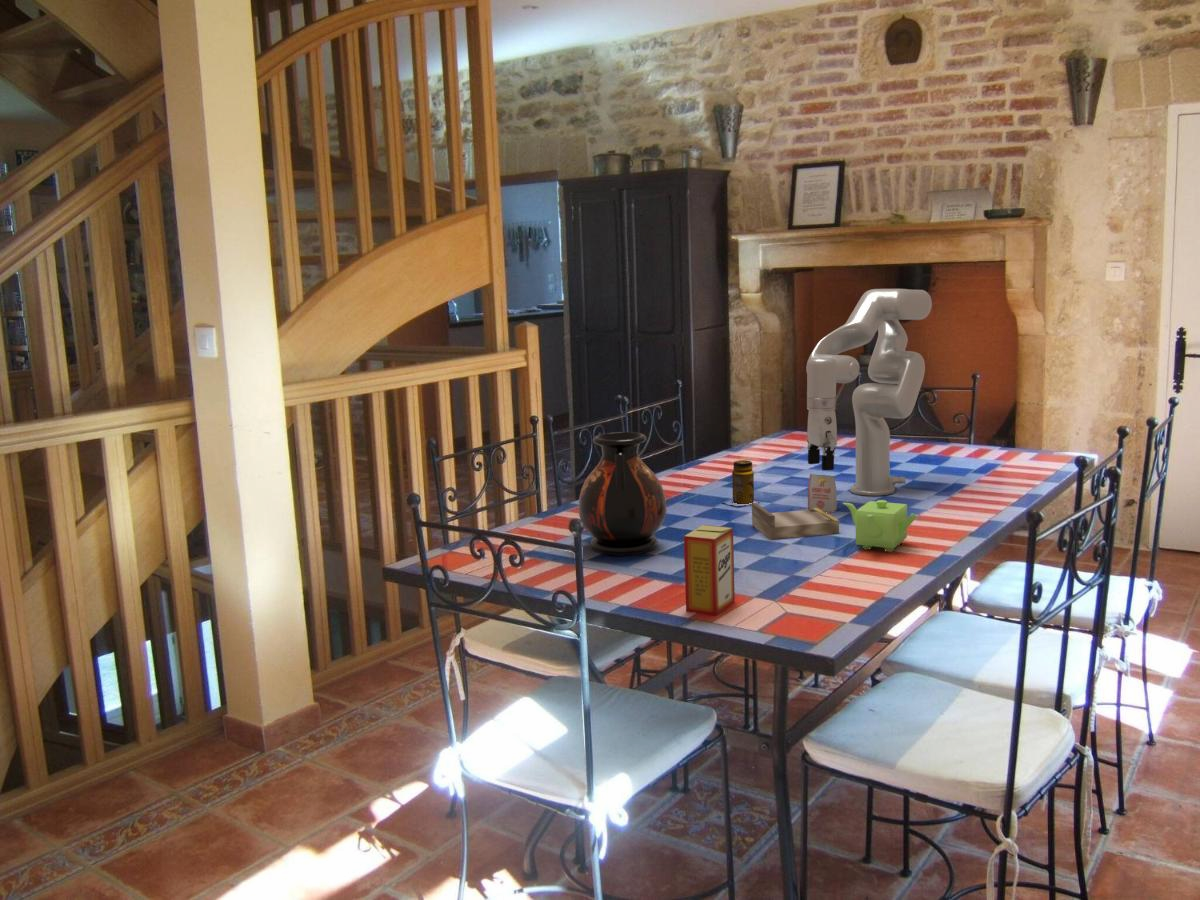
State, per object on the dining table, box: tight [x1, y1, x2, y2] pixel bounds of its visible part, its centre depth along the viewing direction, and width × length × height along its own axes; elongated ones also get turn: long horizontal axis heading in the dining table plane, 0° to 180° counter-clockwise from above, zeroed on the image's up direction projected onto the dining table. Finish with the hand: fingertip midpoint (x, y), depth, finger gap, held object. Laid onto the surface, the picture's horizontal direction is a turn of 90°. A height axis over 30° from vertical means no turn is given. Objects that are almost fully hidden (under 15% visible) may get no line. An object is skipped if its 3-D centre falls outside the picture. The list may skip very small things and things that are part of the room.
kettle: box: [842, 499, 918, 552], centre depth 247 cm, size 15×14×11 cm
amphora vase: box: [577, 431, 667, 556], centre depth 254 cm, size 22×22×28 cm
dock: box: [751, 503, 840, 540], centre depth 266 cm, size 18×14×6 cm
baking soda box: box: [683, 524, 736, 616], centre depth 210 cm, size 10×6×16 cm
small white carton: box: [807, 473, 838, 514], centre depth 283 cm, size 4×7×10 cm, turn 58°
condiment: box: [731, 459, 755, 504], centre depth 295 cm, size 7×8×12 cm
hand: (820, 466), depth 281 cm, fingers open, 9 cm apart
